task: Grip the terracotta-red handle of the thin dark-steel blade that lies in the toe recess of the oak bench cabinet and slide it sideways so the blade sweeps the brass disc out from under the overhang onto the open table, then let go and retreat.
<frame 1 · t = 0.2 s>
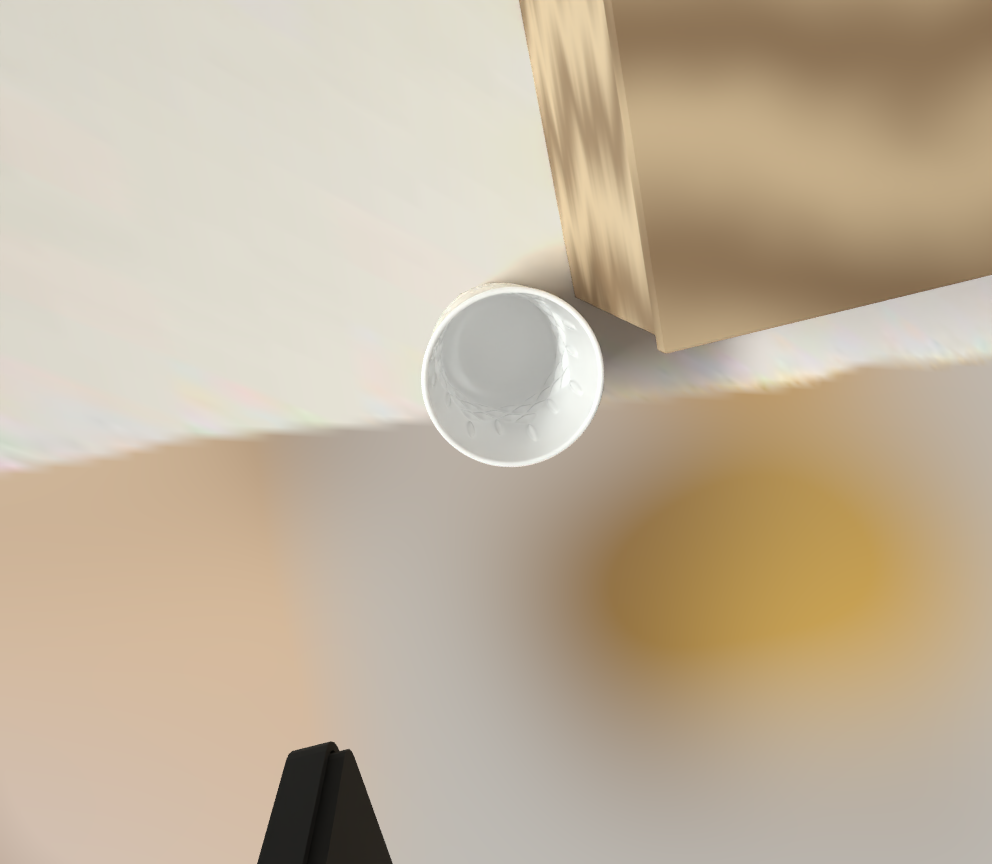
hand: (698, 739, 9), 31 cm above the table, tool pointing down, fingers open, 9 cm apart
white cup: (494, 342, 39), on the table
oak bench cabinet: (675, 116, 36), on the table
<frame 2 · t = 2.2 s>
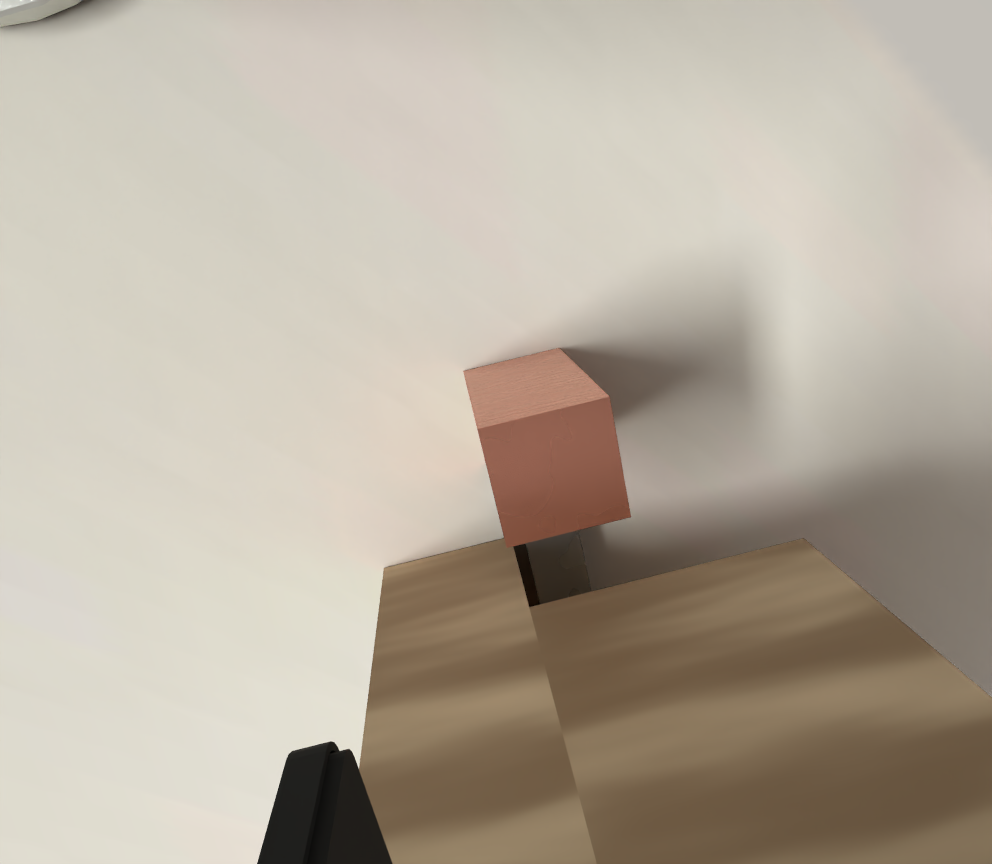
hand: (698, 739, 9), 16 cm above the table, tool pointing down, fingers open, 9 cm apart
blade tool: (521, 405, 25), on the table
oak bench cabinet: (596, 691, 29), on the table
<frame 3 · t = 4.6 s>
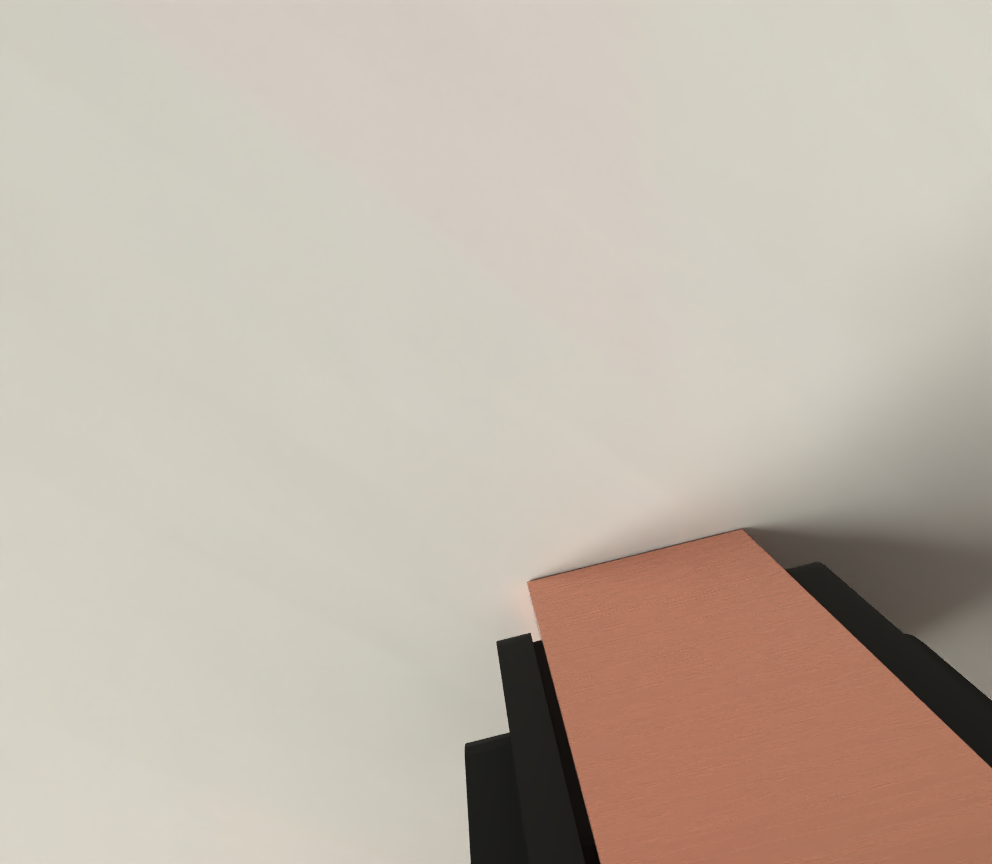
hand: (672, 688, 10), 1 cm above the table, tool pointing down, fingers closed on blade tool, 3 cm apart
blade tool: (652, 648, 11), on the table, touching gripper
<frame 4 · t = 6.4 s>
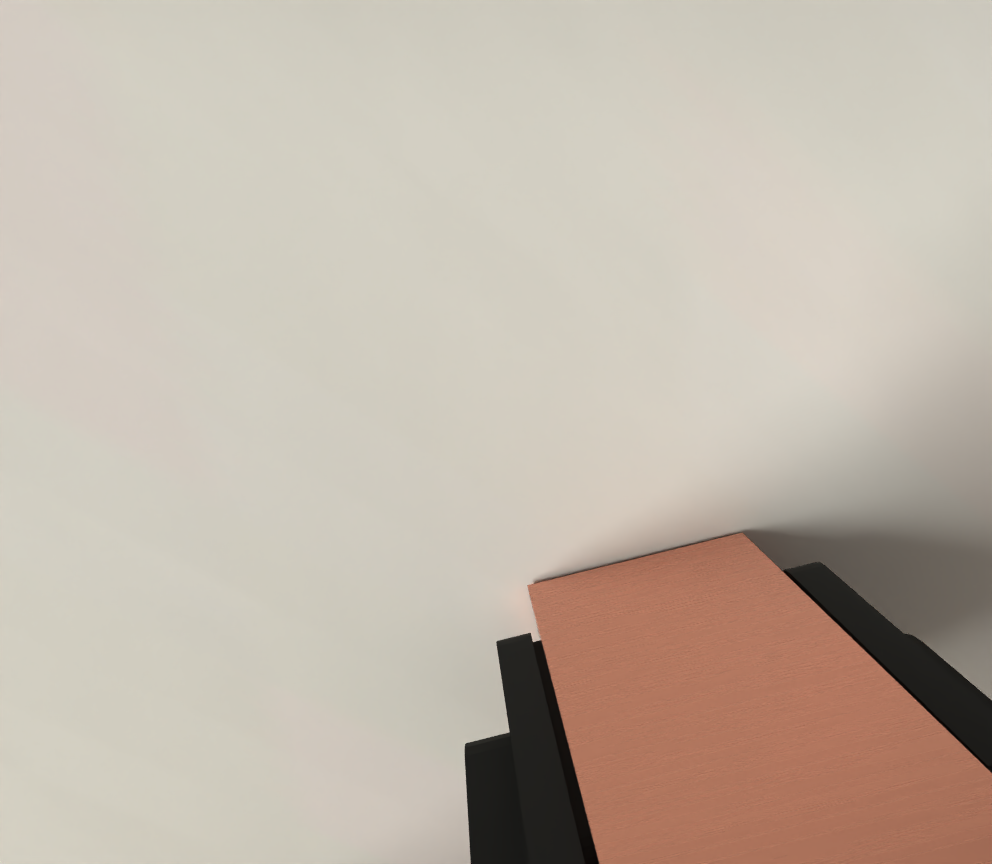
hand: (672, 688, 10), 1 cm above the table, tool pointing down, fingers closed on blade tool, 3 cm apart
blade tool: (652, 652, 11), on the table, touching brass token, gripper
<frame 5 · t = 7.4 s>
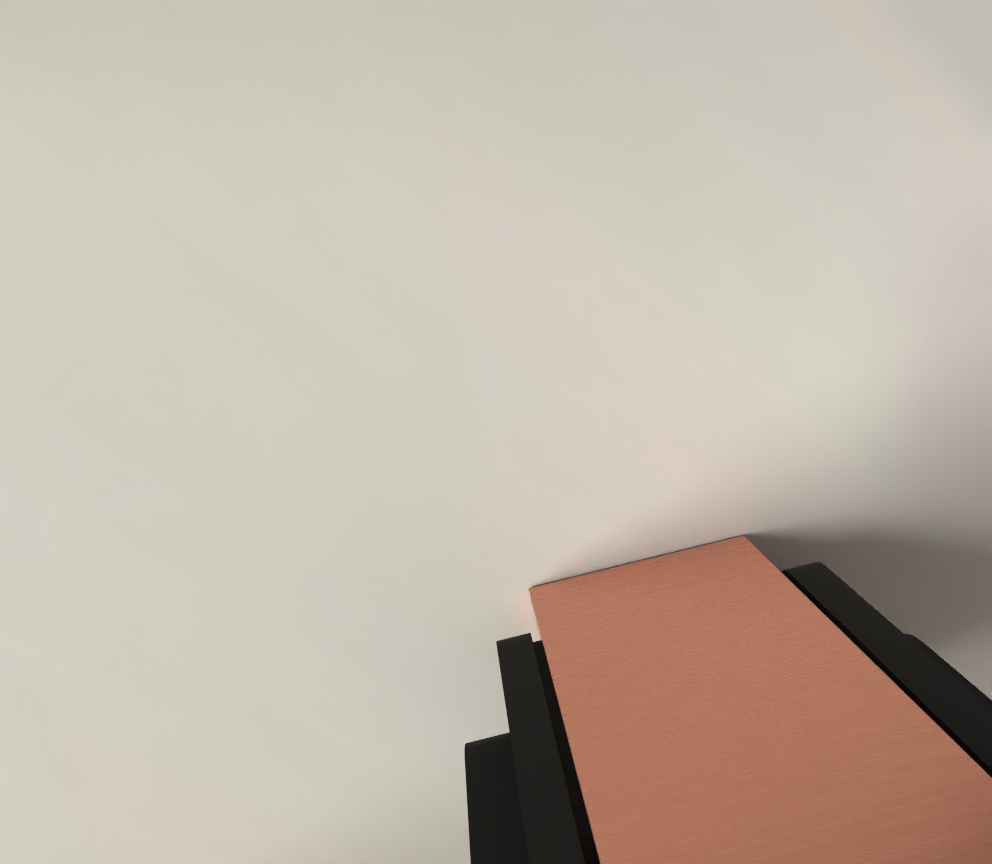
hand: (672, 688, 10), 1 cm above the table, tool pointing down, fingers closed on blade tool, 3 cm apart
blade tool: (653, 654, 11), on the table, touching gripper
when the fingers open (1 cm above the table, at t = 8.4 s): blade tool stays where it is, on the table.
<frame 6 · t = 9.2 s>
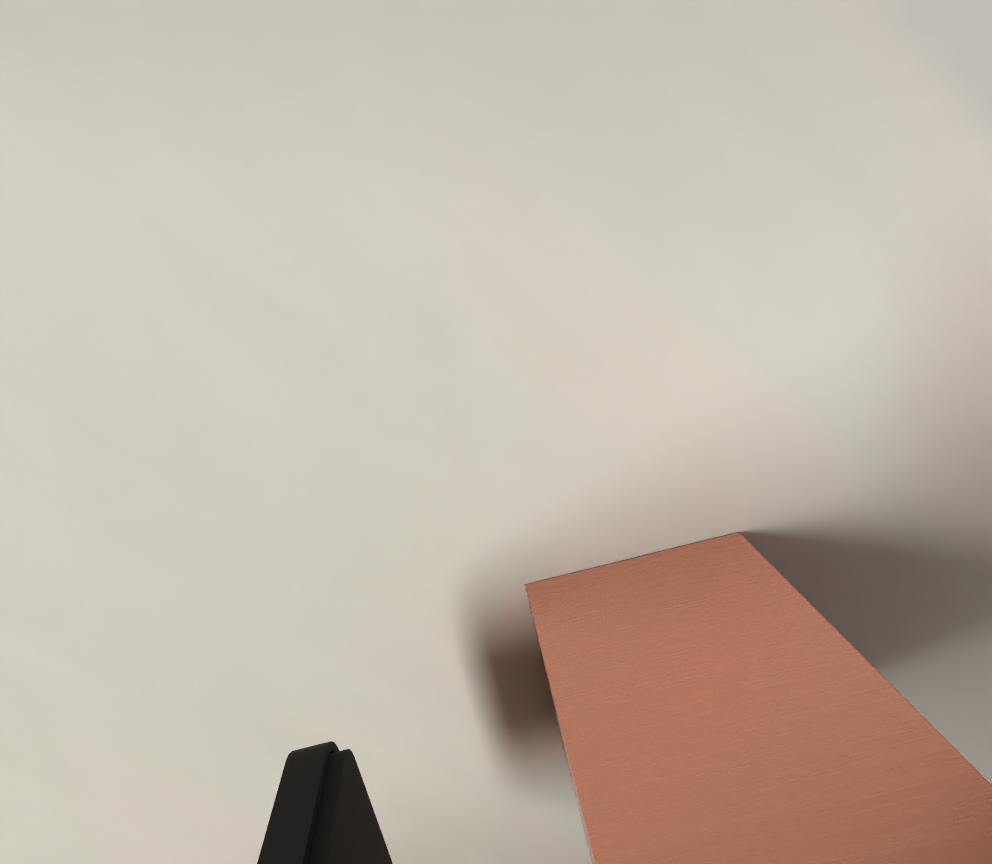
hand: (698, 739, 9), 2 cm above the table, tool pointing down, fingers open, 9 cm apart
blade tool: (649, 650, 11), on the table
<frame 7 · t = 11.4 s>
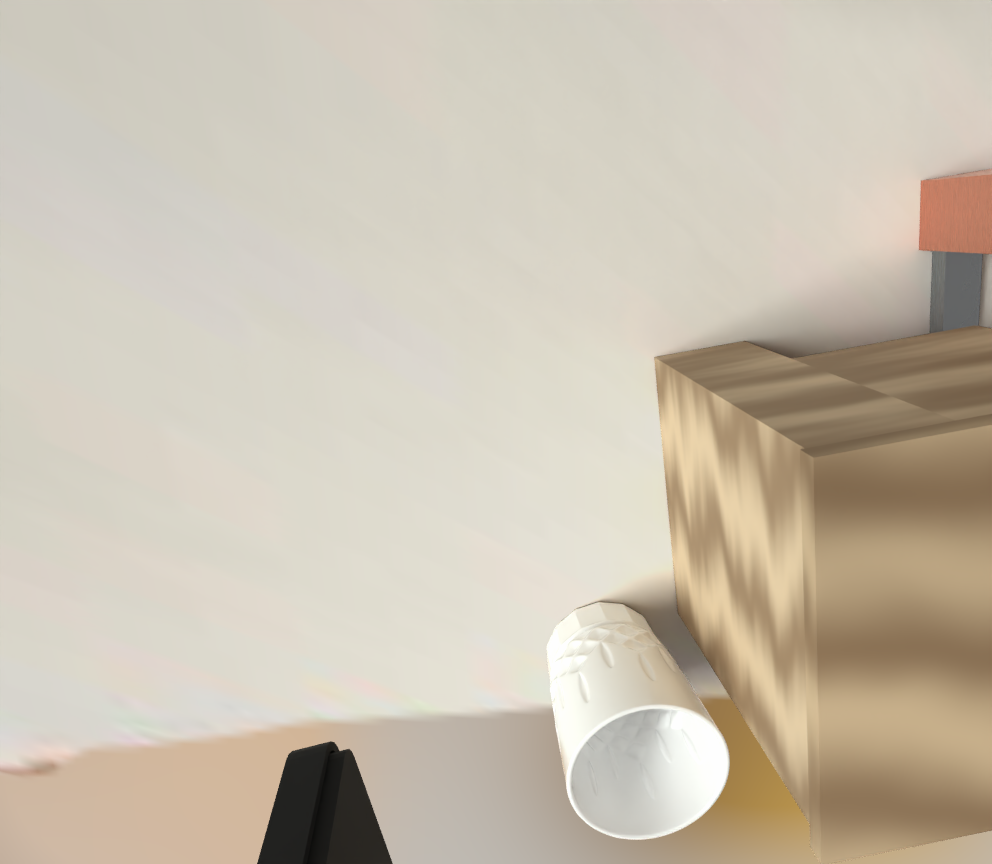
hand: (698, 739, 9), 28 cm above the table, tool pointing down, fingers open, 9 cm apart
white cup: (599, 647, 42), on the table
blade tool: (952, 210, 36), on the table
oak bench cabinet: (785, 471, 39), on the table
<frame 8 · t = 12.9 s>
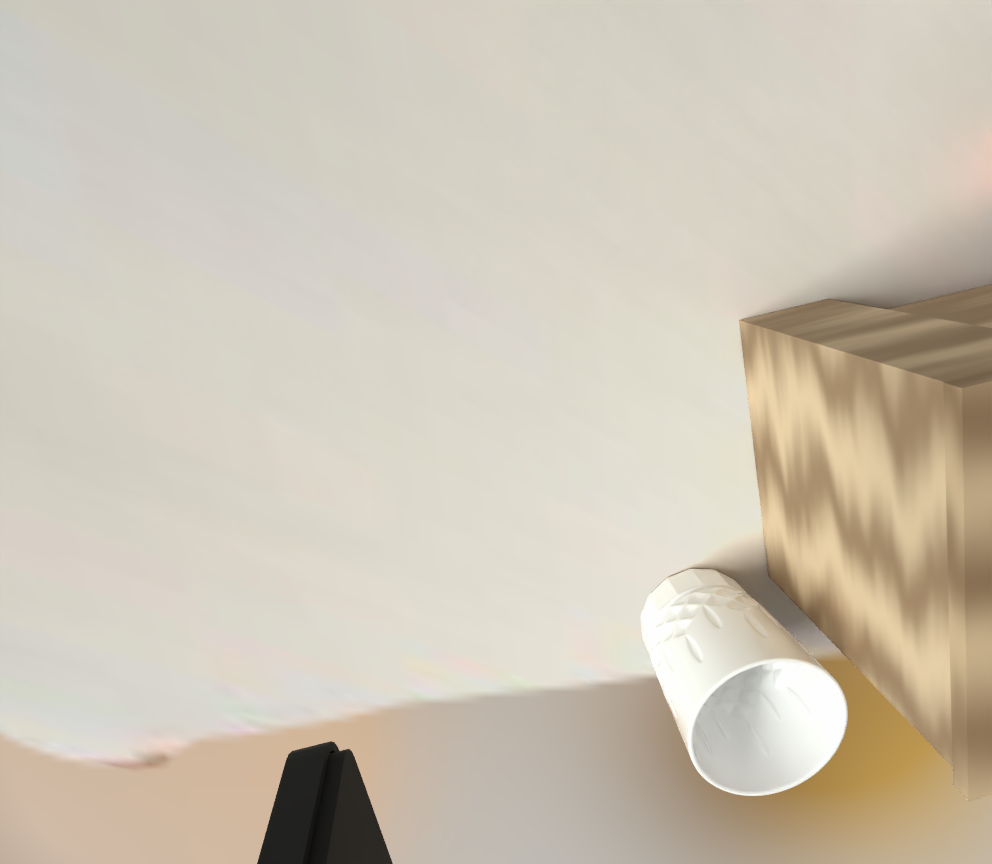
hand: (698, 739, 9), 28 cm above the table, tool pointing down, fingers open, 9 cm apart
white cup: (691, 614, 42), on the table
oak bench cabinet: (871, 427, 39), on the table
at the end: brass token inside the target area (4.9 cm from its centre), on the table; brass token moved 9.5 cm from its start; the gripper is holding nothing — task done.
